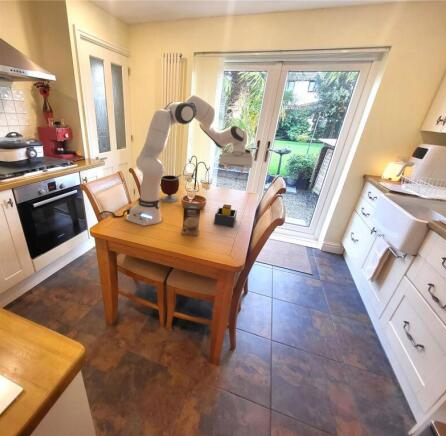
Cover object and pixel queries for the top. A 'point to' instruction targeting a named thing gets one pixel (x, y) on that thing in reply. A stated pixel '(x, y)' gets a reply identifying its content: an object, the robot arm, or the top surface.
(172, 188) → the mate gourd
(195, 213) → the coffee box
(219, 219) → the case
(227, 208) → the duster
